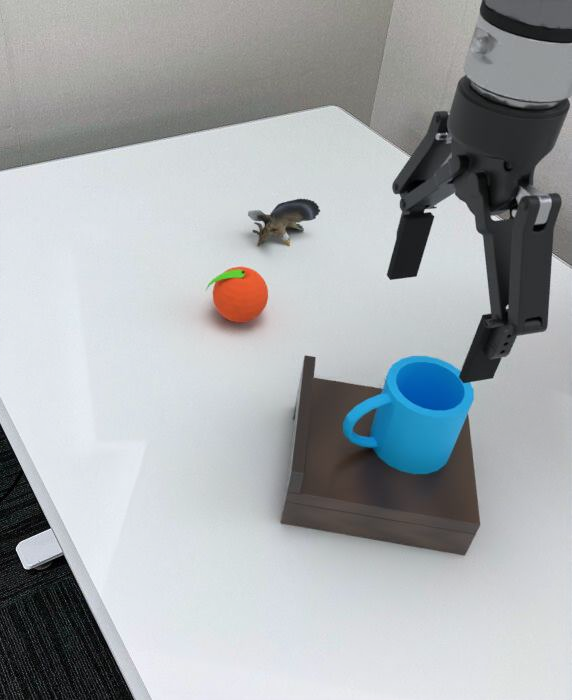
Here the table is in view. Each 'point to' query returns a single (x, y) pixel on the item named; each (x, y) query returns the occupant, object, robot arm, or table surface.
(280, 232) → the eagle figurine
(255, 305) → the clementine
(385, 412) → the mug
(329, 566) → the table surface
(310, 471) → the dark wooden box
